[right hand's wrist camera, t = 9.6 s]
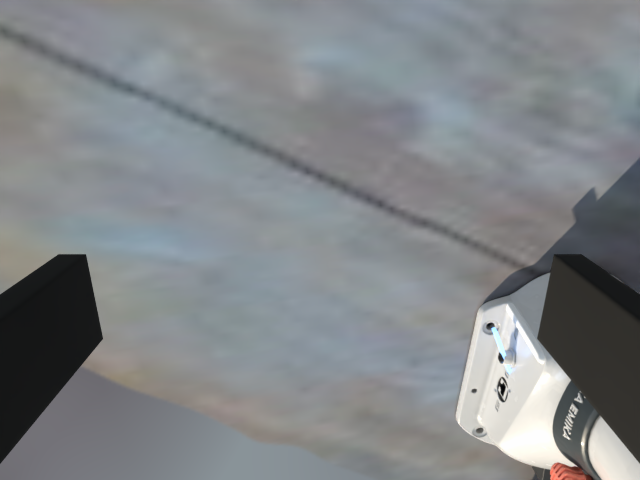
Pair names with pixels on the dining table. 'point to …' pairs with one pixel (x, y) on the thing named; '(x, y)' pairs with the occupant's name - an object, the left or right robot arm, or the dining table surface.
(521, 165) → the dining table surface
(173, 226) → the dining table surface
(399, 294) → the dining table surface
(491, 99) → the dining table surface
